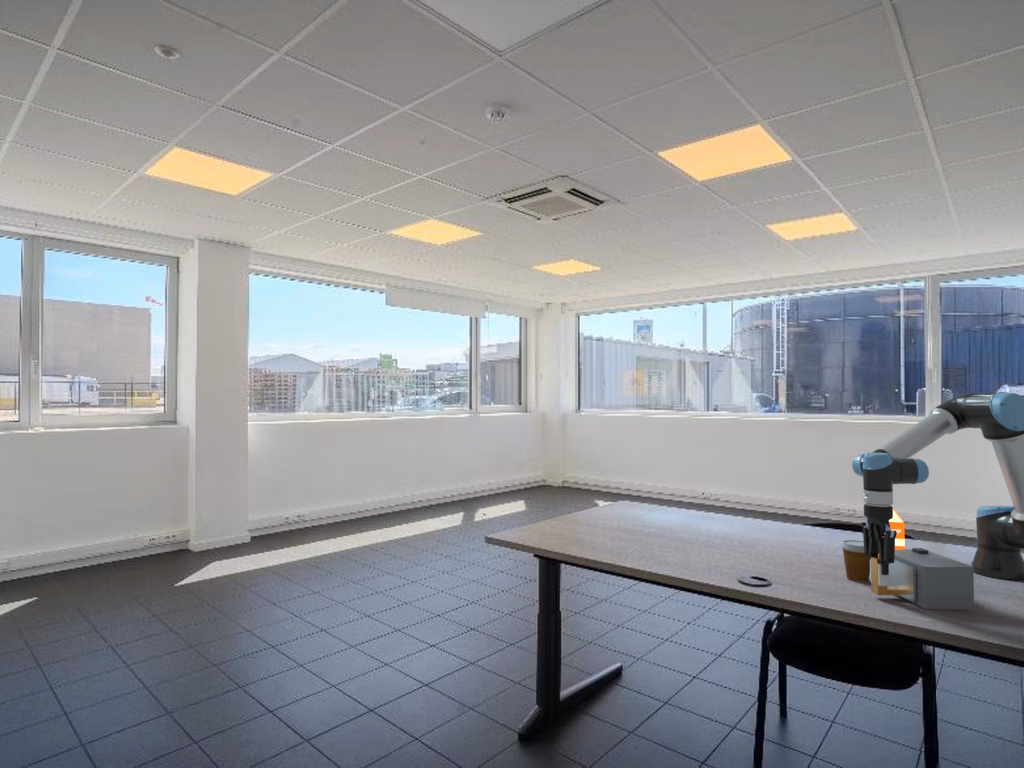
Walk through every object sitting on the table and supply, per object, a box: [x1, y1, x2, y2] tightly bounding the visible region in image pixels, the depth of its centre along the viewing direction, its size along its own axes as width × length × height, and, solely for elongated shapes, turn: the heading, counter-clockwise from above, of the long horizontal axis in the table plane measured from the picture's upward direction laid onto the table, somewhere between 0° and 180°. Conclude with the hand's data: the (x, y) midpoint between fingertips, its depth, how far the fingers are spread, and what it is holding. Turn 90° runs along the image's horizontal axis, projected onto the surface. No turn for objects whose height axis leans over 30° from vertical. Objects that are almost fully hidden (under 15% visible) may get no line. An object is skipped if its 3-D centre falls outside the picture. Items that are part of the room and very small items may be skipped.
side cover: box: [870, 557, 916, 602], centre depth 182 cm, size 8×13×11 cm, turn 2°
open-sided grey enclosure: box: [894, 547, 975, 611], centre depth 182 cm, size 14×20×13 cm
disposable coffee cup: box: [840, 539, 870, 583], centre depth 201 cm, size 10×10×12 cm
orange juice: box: [878, 508, 906, 556], centre depth 227 cm, size 8×9×20 cm
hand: (879, 583), depth 182 cm, fingers closed on side cover, 3 cm apart
